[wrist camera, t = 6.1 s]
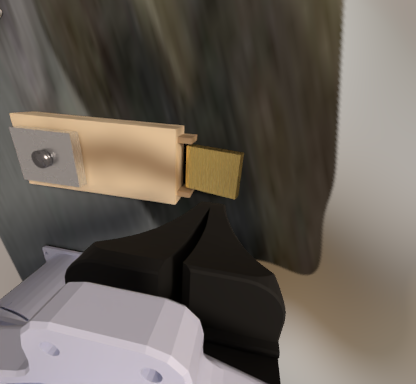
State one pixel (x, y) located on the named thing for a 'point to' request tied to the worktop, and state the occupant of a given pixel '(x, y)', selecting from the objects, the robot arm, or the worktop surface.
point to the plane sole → (123, 155)
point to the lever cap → (49, 155)
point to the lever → (213, 170)
